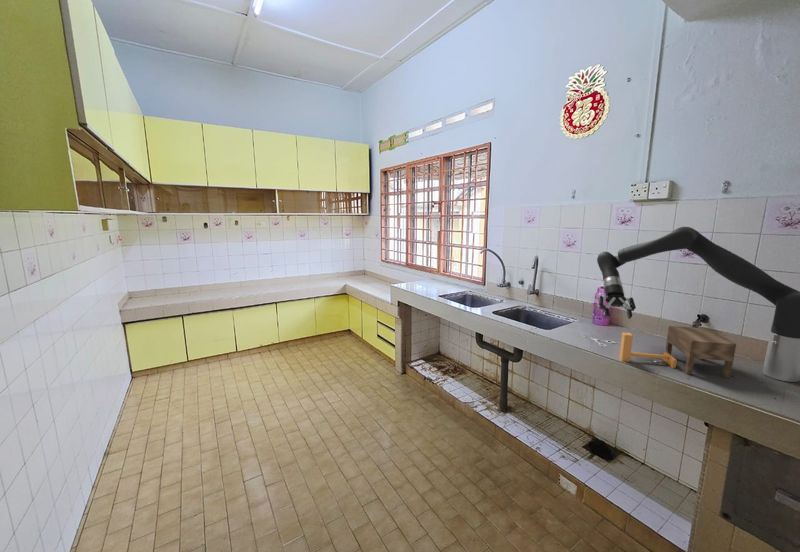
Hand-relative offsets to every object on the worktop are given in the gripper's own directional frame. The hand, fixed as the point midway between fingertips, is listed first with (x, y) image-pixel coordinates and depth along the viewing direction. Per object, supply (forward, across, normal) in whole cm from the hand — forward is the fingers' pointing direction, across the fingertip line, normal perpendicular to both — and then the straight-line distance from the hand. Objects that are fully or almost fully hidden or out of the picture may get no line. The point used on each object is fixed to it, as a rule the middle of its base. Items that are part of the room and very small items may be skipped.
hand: (619, 317), depth 151 cm
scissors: (+3, -6, +21) cm, 22 cm away
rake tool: (+19, +8, +4) cm, 21 cm away
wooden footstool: (+19, +26, +4) cm, 32 cm away
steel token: (+19, +14, +4) cm, 24 cm away
